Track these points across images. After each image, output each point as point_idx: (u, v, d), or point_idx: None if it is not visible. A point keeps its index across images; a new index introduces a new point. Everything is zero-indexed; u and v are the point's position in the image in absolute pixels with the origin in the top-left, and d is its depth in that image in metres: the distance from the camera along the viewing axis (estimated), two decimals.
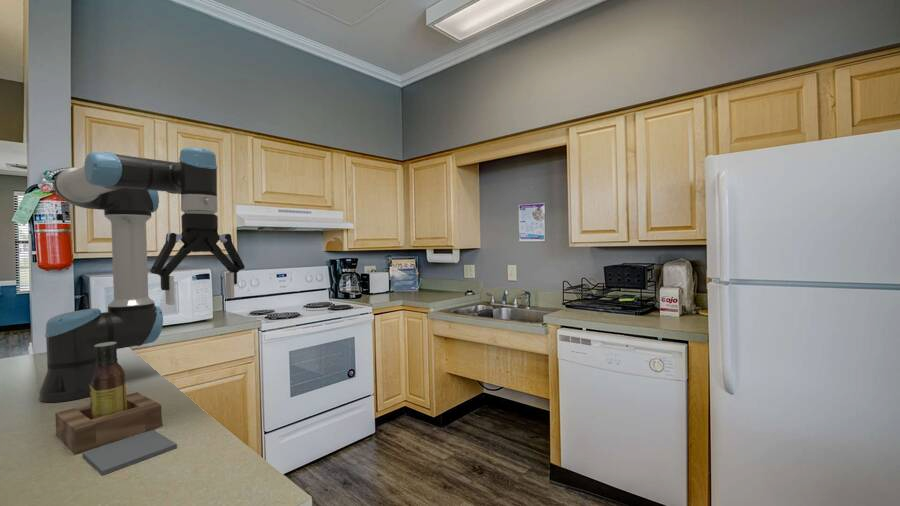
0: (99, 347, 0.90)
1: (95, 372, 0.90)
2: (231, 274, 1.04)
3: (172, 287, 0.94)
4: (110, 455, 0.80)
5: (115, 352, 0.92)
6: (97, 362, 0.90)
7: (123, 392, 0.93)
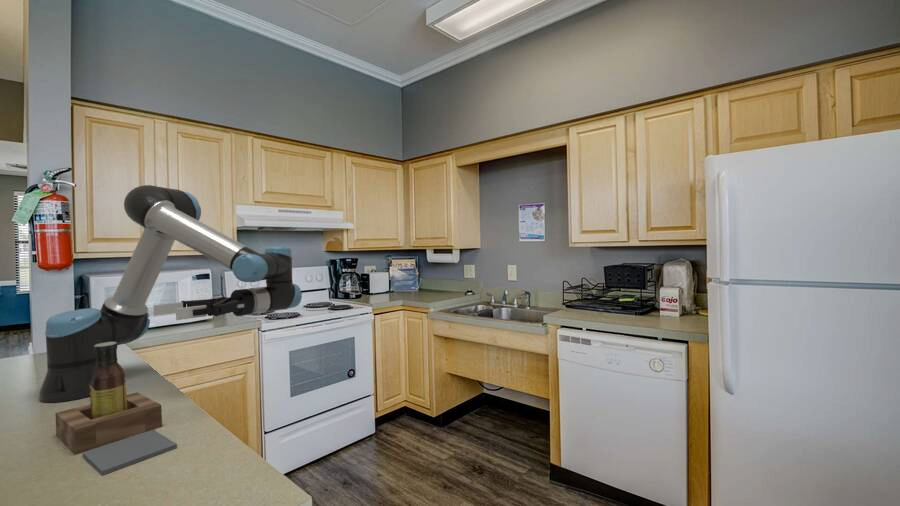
0: (99, 347, 0.90)
1: (95, 372, 0.90)
2: None
3: (194, 317, 1.01)
4: (110, 455, 0.80)
5: (115, 352, 0.92)
6: (97, 362, 0.90)
7: (123, 392, 0.93)
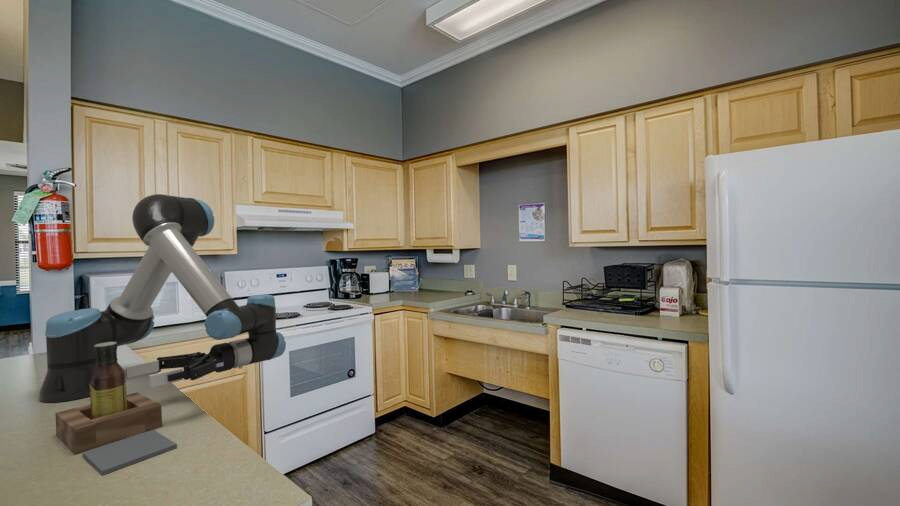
0: (99, 347, 0.90)
1: (95, 372, 0.90)
2: (156, 370, 1.05)
3: None
4: (110, 455, 0.80)
5: (115, 352, 0.92)
6: (97, 362, 0.90)
7: (123, 392, 0.93)
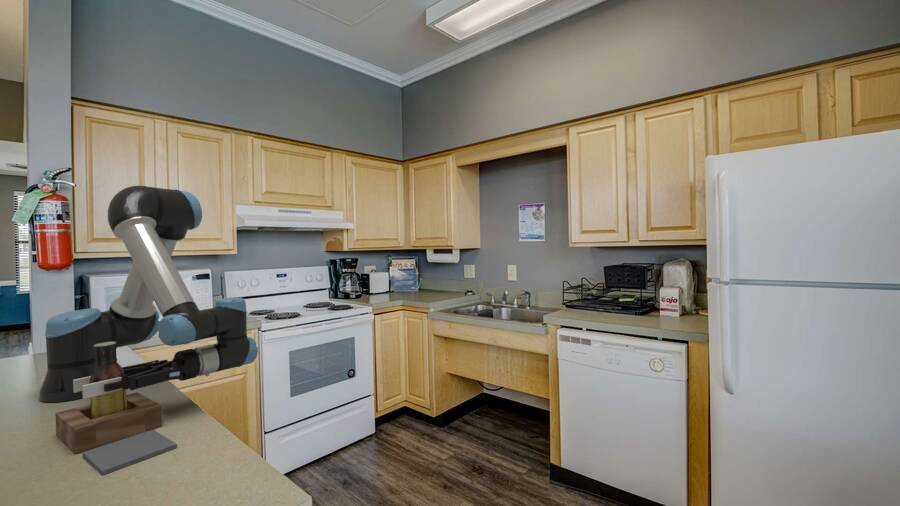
0: (98, 347, 0.90)
1: (95, 372, 0.90)
2: None
3: None
4: (110, 455, 0.80)
5: (114, 352, 0.92)
6: (97, 362, 0.90)
7: (123, 392, 0.93)
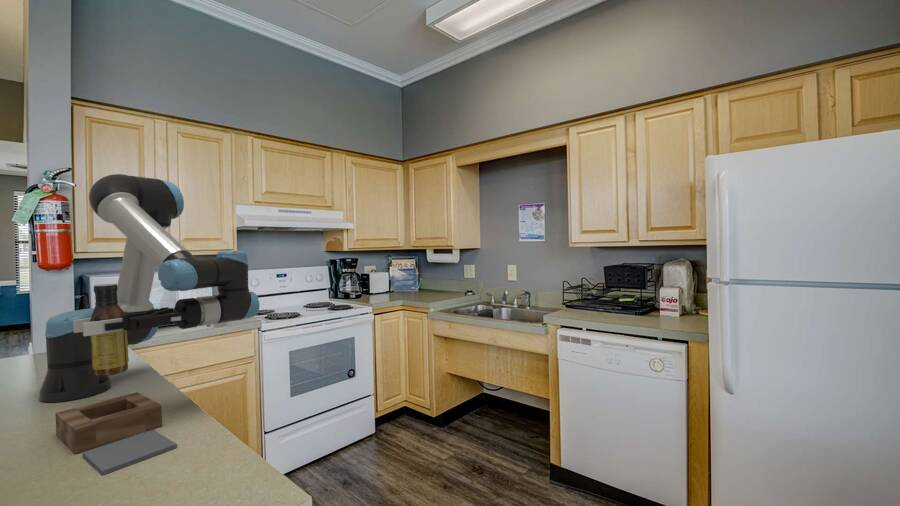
0: (99, 286, 0.89)
1: (95, 312, 0.89)
2: None
3: (107, 332, 0.88)
4: (110, 455, 0.80)
5: (115, 293, 0.91)
6: (97, 302, 0.89)
7: (124, 334, 0.92)
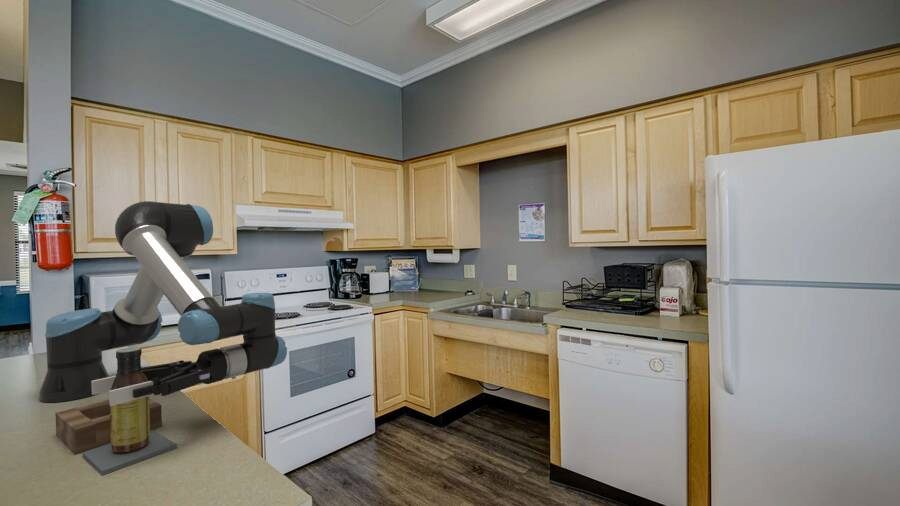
0: (122, 353, 0.80)
1: (117, 381, 0.80)
2: None
3: None
4: (110, 455, 0.80)
5: (139, 359, 0.82)
6: (119, 370, 0.80)
7: (146, 404, 0.83)
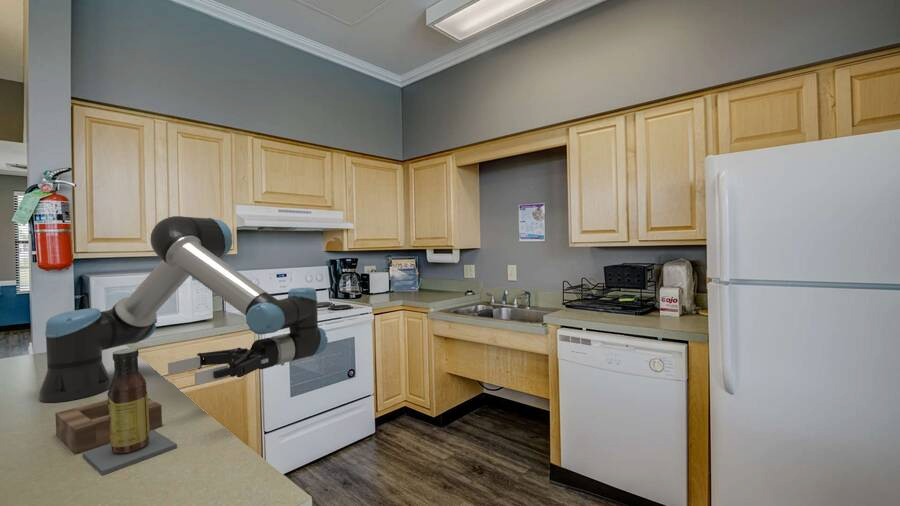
0: (119, 354, 0.79)
1: (114, 383, 0.80)
2: (197, 367, 0.99)
3: None
4: (110, 455, 0.80)
5: (136, 360, 0.82)
6: (116, 371, 0.80)
7: (145, 405, 0.82)
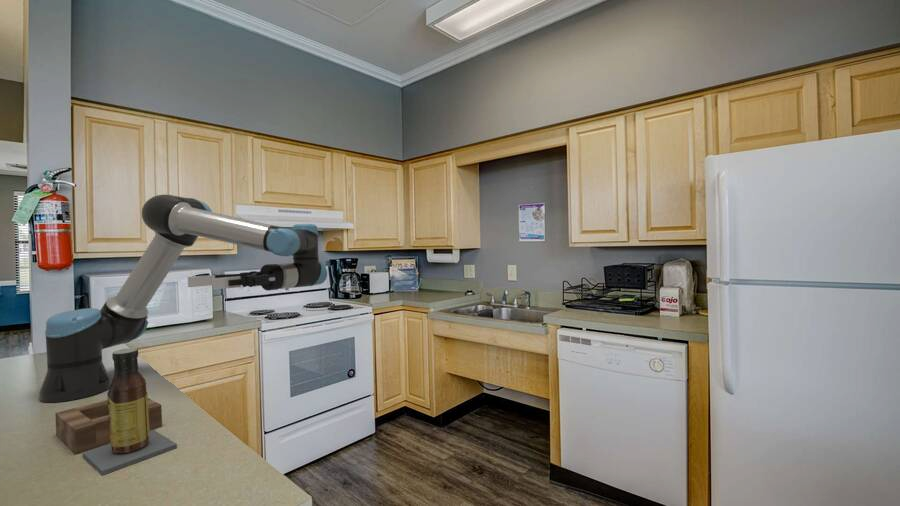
0: (118, 354, 0.80)
1: (114, 383, 0.80)
2: (213, 284, 1.12)
3: (229, 287, 1.03)
4: (110, 455, 0.80)
5: (136, 360, 0.82)
6: (116, 371, 0.80)
7: (145, 405, 0.82)
